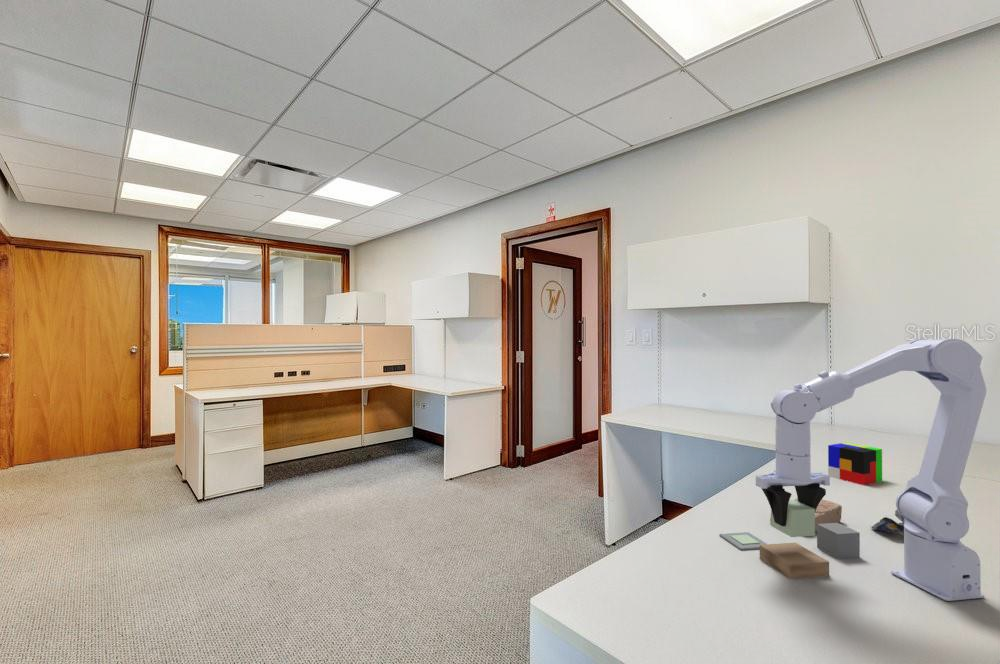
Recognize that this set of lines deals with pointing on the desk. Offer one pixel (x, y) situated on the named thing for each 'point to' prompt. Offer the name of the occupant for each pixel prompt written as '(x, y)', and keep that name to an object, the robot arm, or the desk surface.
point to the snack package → (891, 525)
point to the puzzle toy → (855, 463)
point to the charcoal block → (838, 540)
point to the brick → (826, 512)
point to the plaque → (743, 540)
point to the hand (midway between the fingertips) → (792, 523)
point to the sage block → (797, 520)
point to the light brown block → (794, 560)
